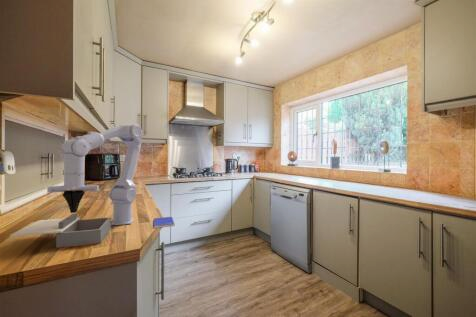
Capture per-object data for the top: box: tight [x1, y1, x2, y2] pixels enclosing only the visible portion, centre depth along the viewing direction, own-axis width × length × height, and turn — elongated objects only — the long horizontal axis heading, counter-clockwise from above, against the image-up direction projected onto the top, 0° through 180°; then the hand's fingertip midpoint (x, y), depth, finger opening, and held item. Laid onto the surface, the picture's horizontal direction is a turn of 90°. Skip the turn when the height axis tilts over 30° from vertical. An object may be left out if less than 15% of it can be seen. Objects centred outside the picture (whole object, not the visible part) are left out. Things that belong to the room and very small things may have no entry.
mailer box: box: [55, 217, 112, 249], centre depth 76 cm, size 16×12×4 cm
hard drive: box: [153, 216, 175, 229], centre depth 94 cm, size 2×8×12 cm
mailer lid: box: [9, 213, 81, 238], centre depth 73 cm, size 16×12×3 cm
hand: (74, 212), depth 75 cm, fingers closed
